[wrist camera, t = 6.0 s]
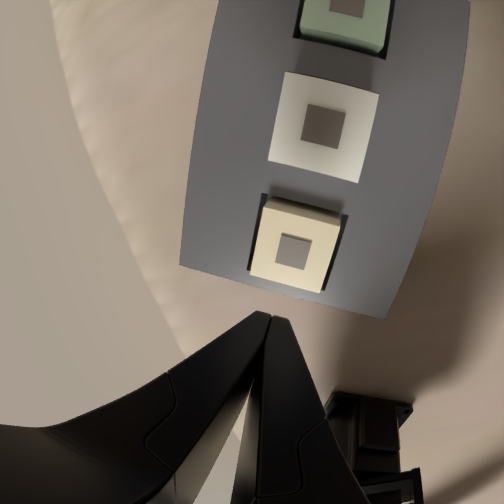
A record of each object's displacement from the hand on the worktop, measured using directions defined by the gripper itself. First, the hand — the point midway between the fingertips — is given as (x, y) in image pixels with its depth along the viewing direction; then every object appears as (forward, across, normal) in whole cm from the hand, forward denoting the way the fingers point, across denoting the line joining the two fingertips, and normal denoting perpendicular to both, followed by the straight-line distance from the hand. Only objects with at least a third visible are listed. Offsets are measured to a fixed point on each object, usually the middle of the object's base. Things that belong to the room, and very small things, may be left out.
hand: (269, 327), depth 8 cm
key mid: (+7, 0, -5) cm, 8 cm away
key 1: (+8, 0, -10) cm, 13 cm away
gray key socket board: (+9, 0, -5) cm, 10 cm away
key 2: (+8, 0, 0) cm, 8 cm away
